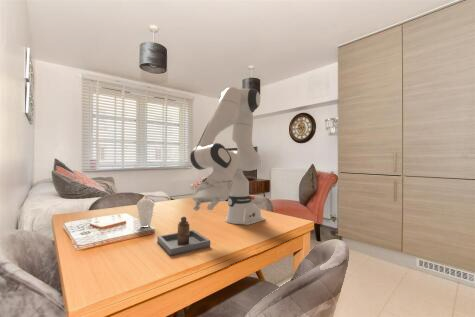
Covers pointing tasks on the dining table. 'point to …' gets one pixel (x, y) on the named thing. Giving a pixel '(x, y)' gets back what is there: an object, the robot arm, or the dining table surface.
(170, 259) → the dining table surface
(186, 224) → the brown bottle
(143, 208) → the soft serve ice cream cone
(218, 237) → the dining table surface
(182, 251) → the tray
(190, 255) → the dining table surface
